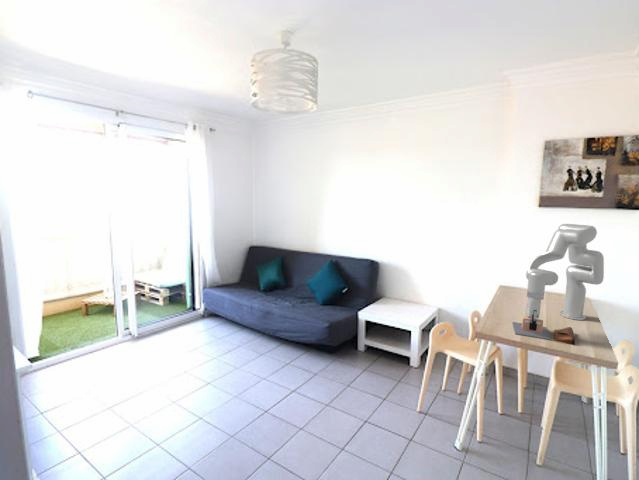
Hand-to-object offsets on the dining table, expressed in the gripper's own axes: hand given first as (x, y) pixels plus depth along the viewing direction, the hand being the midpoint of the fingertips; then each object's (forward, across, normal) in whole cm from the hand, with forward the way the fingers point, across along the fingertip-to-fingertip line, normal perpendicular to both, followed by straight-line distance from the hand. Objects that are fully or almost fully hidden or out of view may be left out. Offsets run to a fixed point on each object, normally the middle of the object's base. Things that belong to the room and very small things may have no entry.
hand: (531, 327), depth 177 cm
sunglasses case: (+3, 0, +14) cm, 15 cm away
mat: (+2, -1, 0) cm, 3 cm away
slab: (+2, 0, 0) cm, 2 cm away
